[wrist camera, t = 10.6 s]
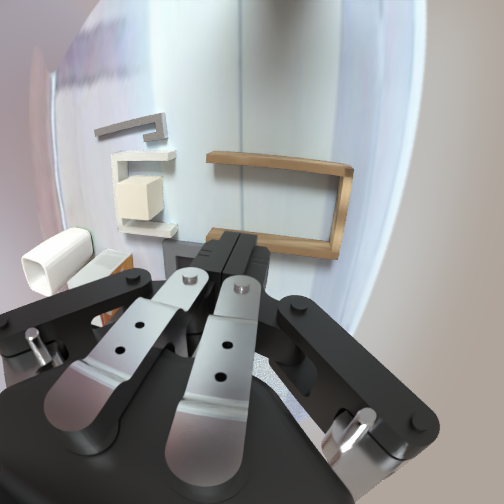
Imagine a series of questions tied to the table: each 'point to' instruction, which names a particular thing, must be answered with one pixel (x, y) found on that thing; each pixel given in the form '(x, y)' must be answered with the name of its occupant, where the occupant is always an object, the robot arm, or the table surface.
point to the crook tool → (157, 118)
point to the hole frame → (178, 255)
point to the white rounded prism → (57, 260)
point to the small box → (102, 275)
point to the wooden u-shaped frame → (292, 163)
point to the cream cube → (140, 197)
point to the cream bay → (121, 174)
